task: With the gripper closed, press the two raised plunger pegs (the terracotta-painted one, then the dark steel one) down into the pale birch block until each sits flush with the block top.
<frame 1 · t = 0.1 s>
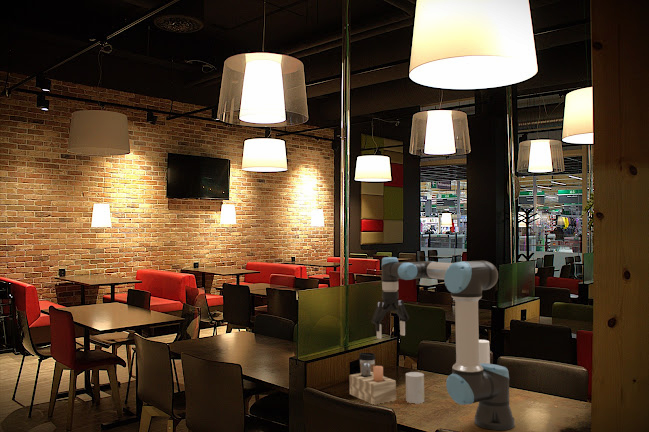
hand: (391, 336, 255), 28 cm above the table, fingers open, 13 cm apart
cylindrical container: (482, 395, 257), on the table
cup: (415, 401, 250), on the table
coffee cup: (367, 383, 280), on the table
peg terracotta: (378, 376, 252), point 10 cm above the table, slide at 6.0 cm
peg steel: (365, 372, 261), point 10 cm above the table, slide at 6.0 cm
birch block: (372, 397, 256), on the table
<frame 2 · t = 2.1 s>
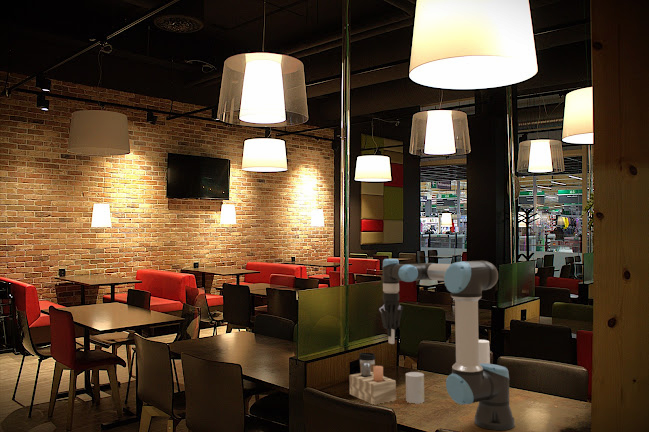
hand: (391, 343, 256), 25 cm above the table, fingers closed
nothing on the table moved.
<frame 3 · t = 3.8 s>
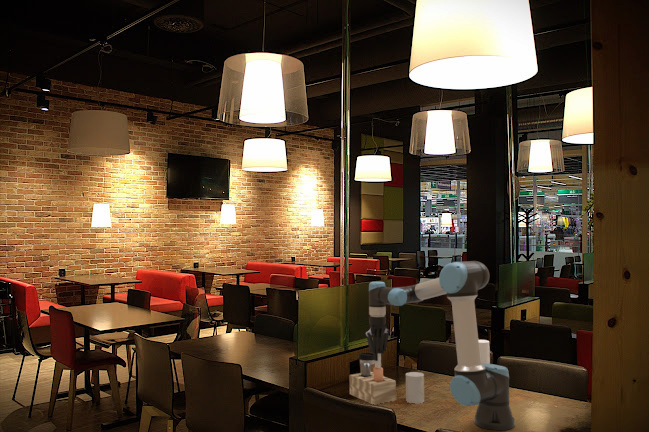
hand: (378, 367, 252), 15 cm above the table, fingers closed
peg terracotta: (378, 378, 252), point 10 cm above the table, slide at 5.4 cm, touching gripper
everything else where it was.
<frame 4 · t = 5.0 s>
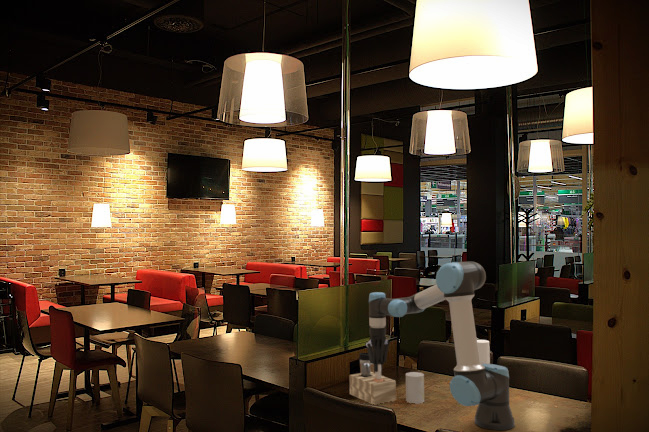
hand: (378, 378, 252), 10 cm above the table, fingers closed
peg terracotta: (378, 389, 252), point 5 cm above the table, slide at 0.5 cm, touching gripper
everything else where it was.
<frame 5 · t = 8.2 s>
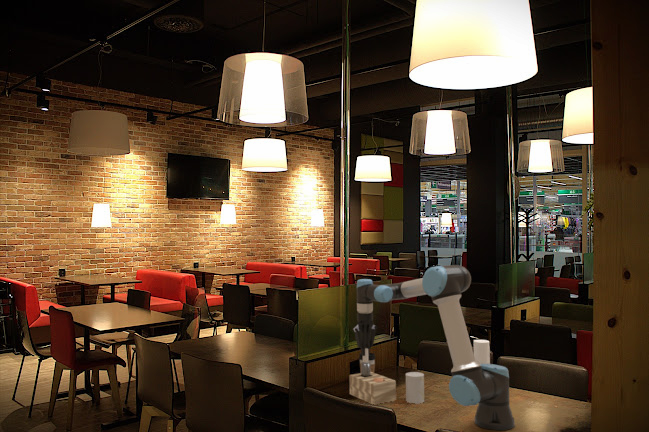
hand: (365, 362, 261), 15 cm above the table, fingers closed
peg terracotta: (378, 389, 252), point 5 cm above the table, slide at 0.5 cm
peg steel: (365, 372, 261), point 10 cm above the table, slide at 5.9 cm, touching gripper
everything else where it was.
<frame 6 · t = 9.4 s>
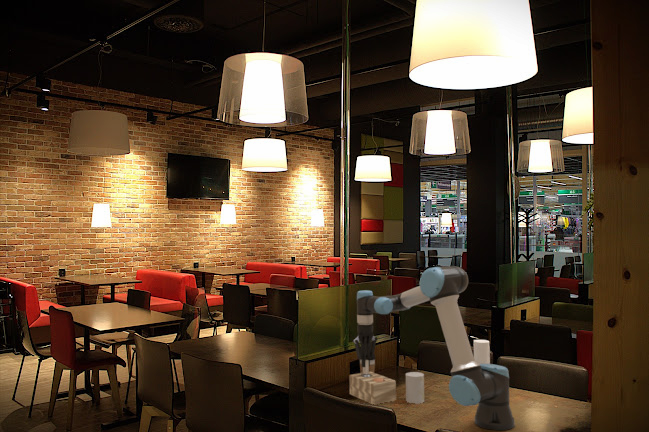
hand: (365, 373, 261), 10 cm above the table, fingers closed
peg steel: (365, 383, 260), point 5 cm above the table, slide at 0.5 cm, touching gripper
everything else where it was.
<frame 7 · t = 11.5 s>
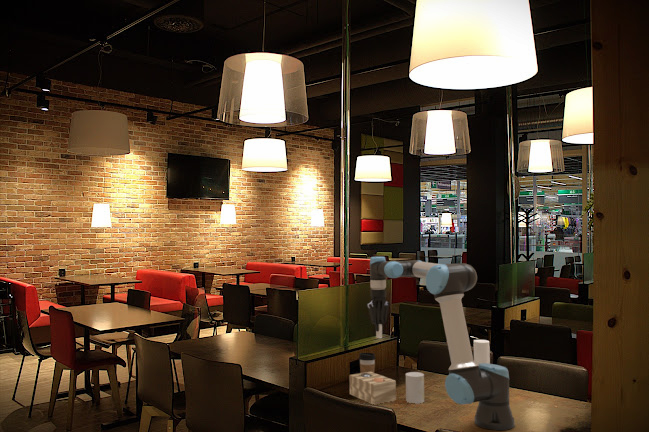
hand: (379, 337, 266), 26 cm above the table, fingers closed
peg steel: (365, 383, 260), point 5 cm above the table, slide at 0.5 cm
everything else where it was.
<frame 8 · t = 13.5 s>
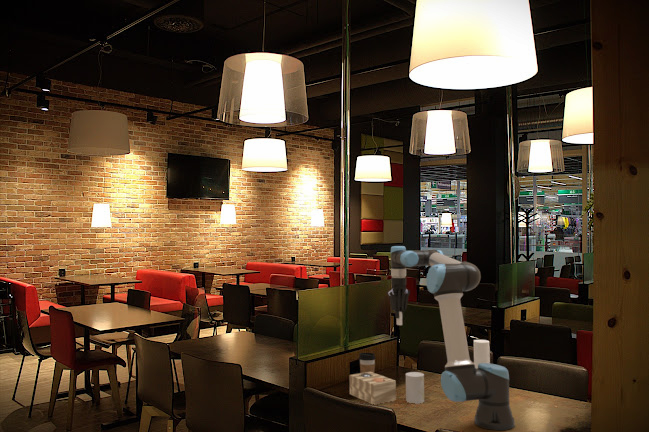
hand: (399, 324, 274), 30 cm above the table, fingers closed
nothing on the table moved.
at the end: peg terracotta slide at 0.5 cm; peg steel slide at 0.5 cm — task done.
